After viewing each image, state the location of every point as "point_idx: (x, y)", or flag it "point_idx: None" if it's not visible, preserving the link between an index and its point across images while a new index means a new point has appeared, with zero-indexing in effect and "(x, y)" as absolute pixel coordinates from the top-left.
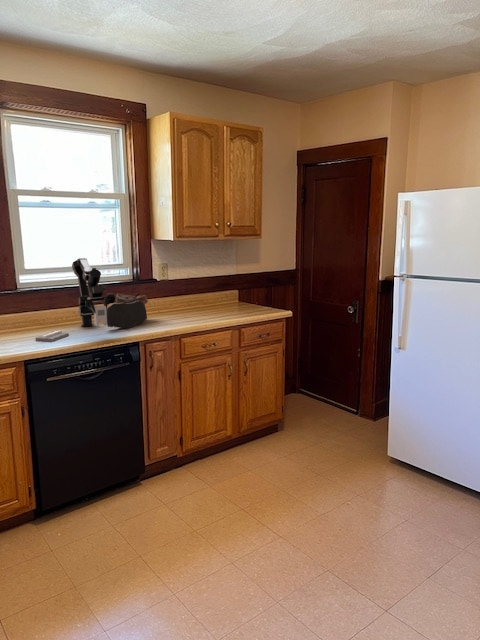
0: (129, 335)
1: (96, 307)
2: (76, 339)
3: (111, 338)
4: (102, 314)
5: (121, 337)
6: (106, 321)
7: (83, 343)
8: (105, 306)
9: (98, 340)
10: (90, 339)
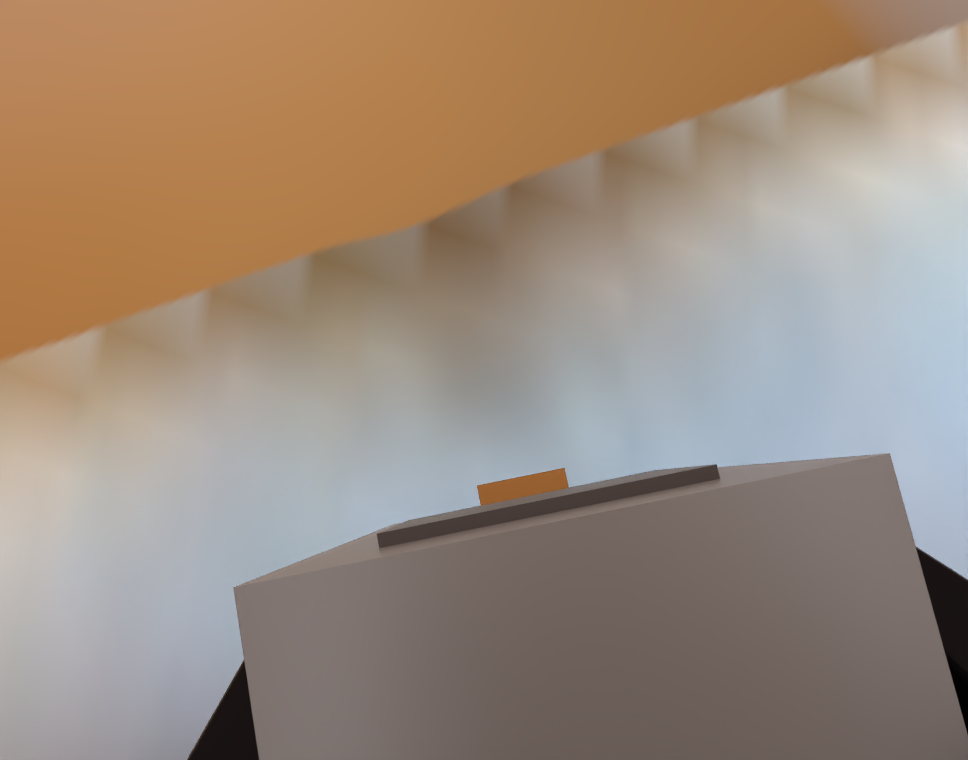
0: (52, 468)
1: (825, 467)
2: (957, 483)
3: (375, 349)
4: (490, 504)
5: (206, 364)
6: (393, 526)
7: (826, 161)
8: (266, 627)
9: (591, 281)
10: (720, 399)
